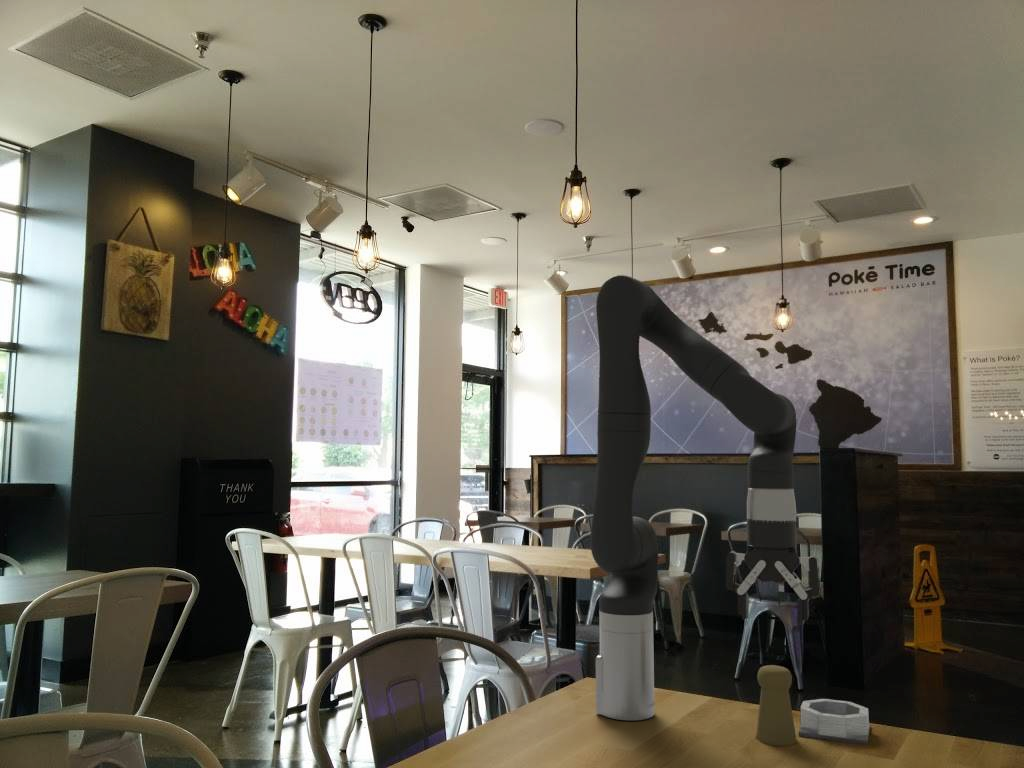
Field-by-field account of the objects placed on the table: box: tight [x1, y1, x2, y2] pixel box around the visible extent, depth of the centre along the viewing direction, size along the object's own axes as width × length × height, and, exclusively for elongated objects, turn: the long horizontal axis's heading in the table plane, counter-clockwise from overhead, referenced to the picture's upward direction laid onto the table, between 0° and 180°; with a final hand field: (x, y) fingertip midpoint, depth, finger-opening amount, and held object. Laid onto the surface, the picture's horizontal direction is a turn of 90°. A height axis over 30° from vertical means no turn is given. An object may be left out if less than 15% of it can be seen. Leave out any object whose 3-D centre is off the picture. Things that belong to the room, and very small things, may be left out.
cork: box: [755, 664, 797, 746], centre depth 132 cm, size 6×6×11 cm
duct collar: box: [798, 698, 871, 746], centre depth 136 cm, size 10×10×4 cm
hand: (773, 620), depth 134 cm, fingers open, 8 cm apart
